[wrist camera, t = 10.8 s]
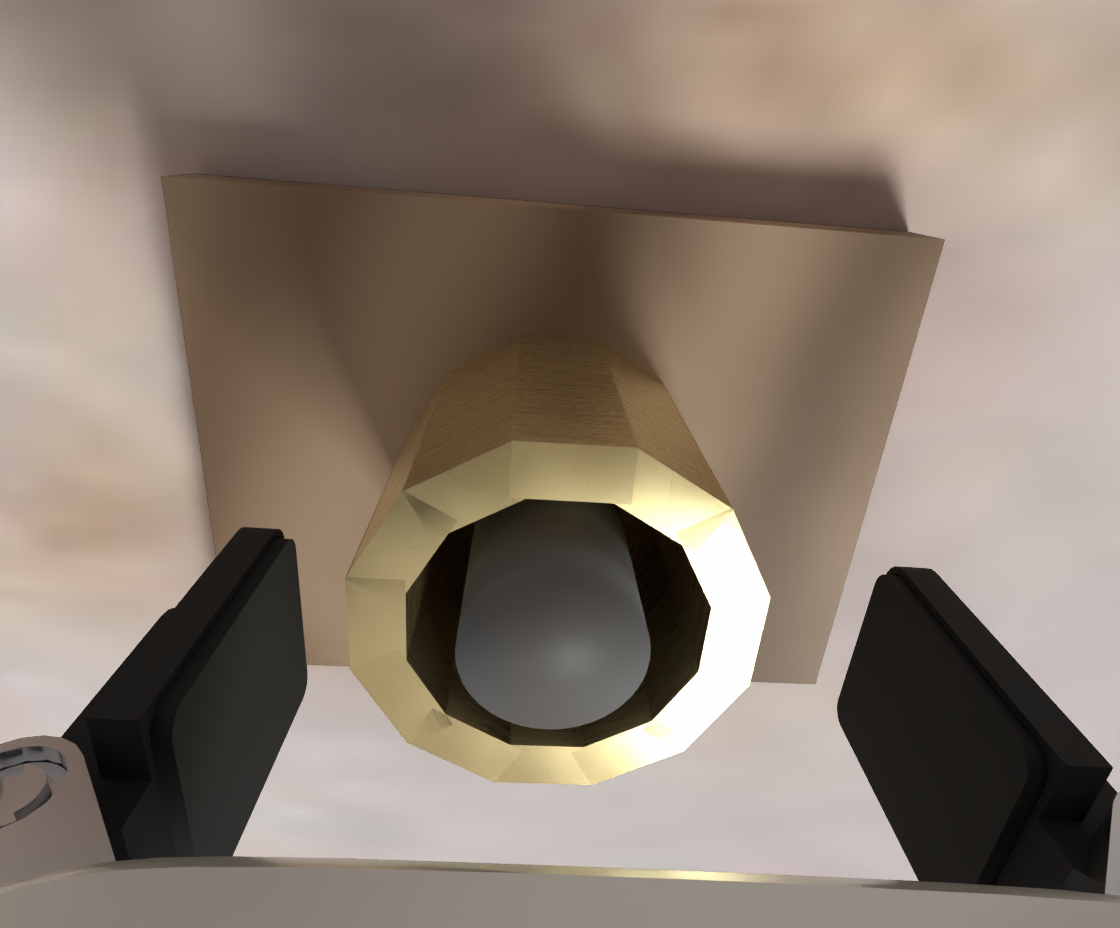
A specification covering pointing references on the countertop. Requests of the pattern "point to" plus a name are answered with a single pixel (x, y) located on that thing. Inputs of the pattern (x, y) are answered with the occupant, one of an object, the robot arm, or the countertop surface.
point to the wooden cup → (566, 475)
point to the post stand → (546, 312)
